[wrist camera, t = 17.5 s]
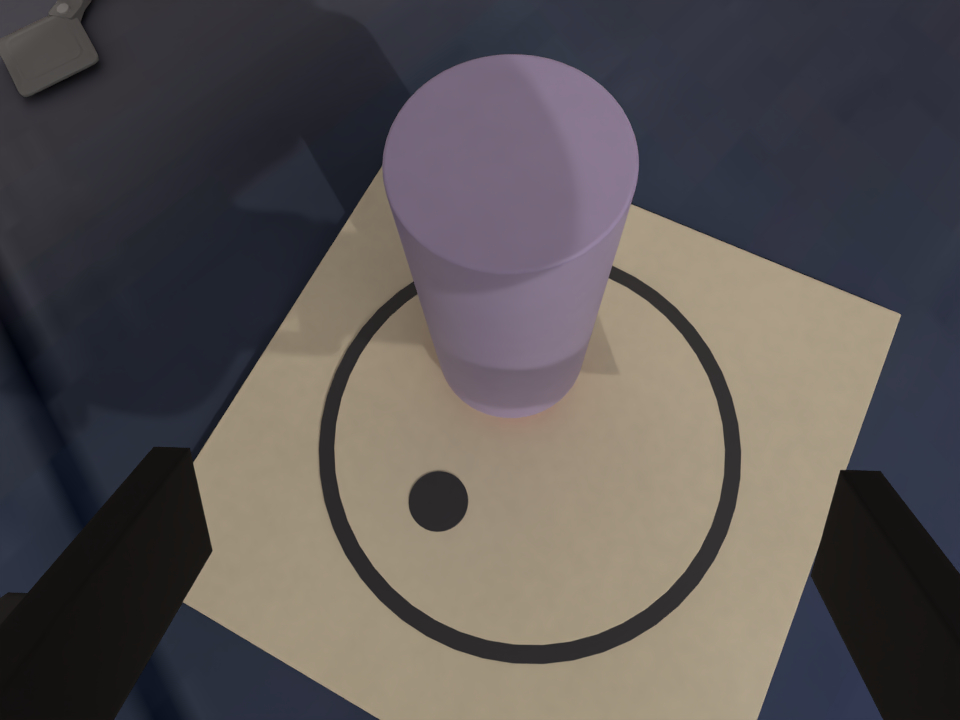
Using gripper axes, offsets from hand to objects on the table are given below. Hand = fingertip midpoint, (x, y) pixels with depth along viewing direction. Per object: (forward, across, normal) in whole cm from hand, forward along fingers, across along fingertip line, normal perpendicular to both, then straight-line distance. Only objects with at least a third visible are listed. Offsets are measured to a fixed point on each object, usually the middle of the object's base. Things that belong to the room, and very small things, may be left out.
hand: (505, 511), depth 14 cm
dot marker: (+8, 0, -1) cm, 9 cm away
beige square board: (+7, 0, -3) cm, 8 cm away
